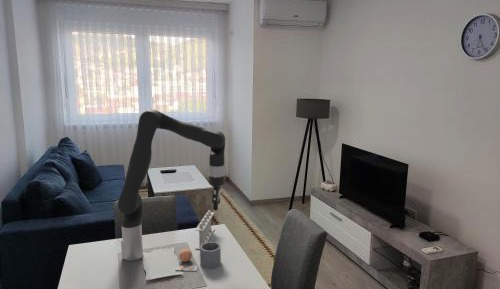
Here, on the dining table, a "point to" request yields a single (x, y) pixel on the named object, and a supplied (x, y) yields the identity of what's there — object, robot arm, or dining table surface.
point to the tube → (210, 255)
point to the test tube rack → (205, 229)
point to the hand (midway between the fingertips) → (216, 206)
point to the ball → (185, 255)
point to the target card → (189, 268)
